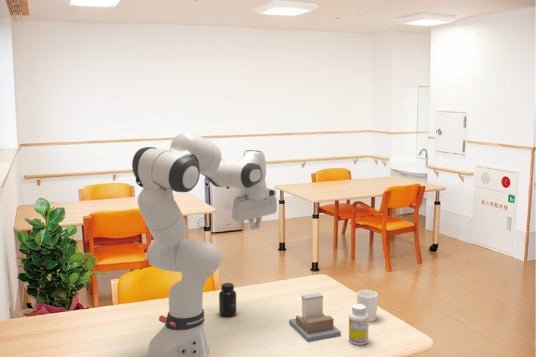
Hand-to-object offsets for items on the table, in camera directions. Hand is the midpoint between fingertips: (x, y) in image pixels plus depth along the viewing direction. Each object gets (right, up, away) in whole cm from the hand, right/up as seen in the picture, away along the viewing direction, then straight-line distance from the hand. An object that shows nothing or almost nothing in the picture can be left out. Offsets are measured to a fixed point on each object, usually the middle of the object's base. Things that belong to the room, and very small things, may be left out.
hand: (255, 228), depth 203 cm
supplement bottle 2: (+36, -38, -16) cm, 55 cm away
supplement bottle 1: (-11, -35, +8) cm, 37 cm away
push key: (+21, -34, -5) cm, 41 cm away
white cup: (+43, -35, +3) cm, 55 cm away
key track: (+22, -36, -6) cm, 43 cm away
